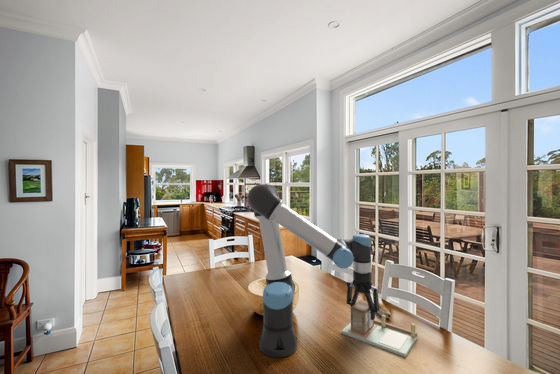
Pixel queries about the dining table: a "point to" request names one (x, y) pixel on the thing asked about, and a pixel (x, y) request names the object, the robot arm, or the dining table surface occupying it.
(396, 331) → the ledge board
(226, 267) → the dining table surface
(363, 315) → the frame block
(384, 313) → the stone
